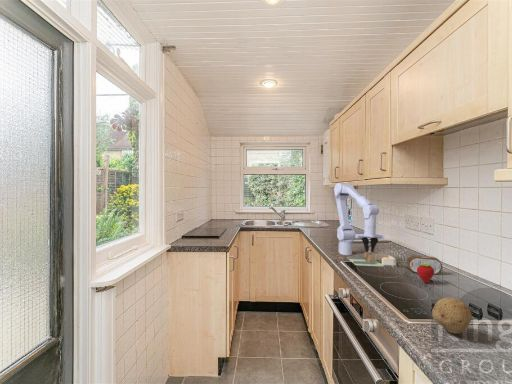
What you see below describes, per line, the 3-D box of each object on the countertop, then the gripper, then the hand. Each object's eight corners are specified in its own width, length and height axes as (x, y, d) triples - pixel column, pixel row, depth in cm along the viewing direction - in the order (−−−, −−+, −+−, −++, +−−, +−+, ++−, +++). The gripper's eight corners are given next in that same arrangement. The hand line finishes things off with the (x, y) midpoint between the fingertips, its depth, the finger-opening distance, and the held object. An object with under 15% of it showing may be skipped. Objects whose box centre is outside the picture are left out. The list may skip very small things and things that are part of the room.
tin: (440, 274, 135) (441, 257, 135) (442, 276, 132) (443, 258, 132) (406, 270, 139) (407, 254, 139) (408, 272, 136) (408, 255, 136)
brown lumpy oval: (438, 338, 75) (440, 302, 75) (426, 322, 84) (427, 290, 84) (477, 343, 73) (478, 306, 73) (460, 327, 82) (461, 294, 82)
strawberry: (412, 281, 123) (413, 259, 123) (425, 280, 125) (426, 258, 125) (424, 286, 117) (425, 262, 117) (437, 284, 119) (438, 261, 119)
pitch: (346, 259, 158) (346, 251, 158) (385, 260, 157) (385, 253, 157) (355, 267, 142) (355, 258, 142) (398, 269, 141) (399, 260, 141)
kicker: (363, 259, 154) (364, 244, 153) (368, 259, 153) (368, 245, 153) (369, 263, 146) (369, 248, 145) (373, 263, 145) (374, 248, 145)
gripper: (359, 227, 145) (358, 252, 146) (386, 228, 145) (385, 253, 145) (354, 225, 153) (353, 249, 153) (381, 226, 152) (380, 250, 152)
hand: (369, 251), depth 149 cm, fingers closed on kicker, 2 cm apart
